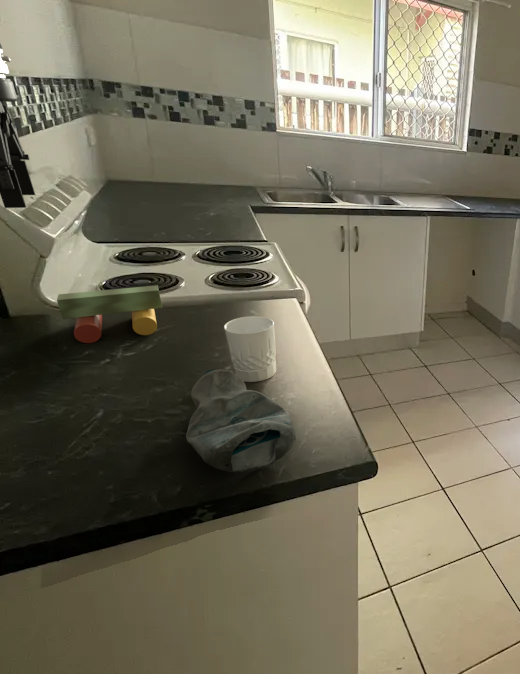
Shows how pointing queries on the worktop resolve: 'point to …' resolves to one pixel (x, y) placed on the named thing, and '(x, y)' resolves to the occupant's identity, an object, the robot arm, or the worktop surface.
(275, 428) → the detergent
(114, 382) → the worktop surface
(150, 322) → the yellow rod
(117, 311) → the green bar
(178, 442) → the worktop surface
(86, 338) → the red rod
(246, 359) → the white cup
